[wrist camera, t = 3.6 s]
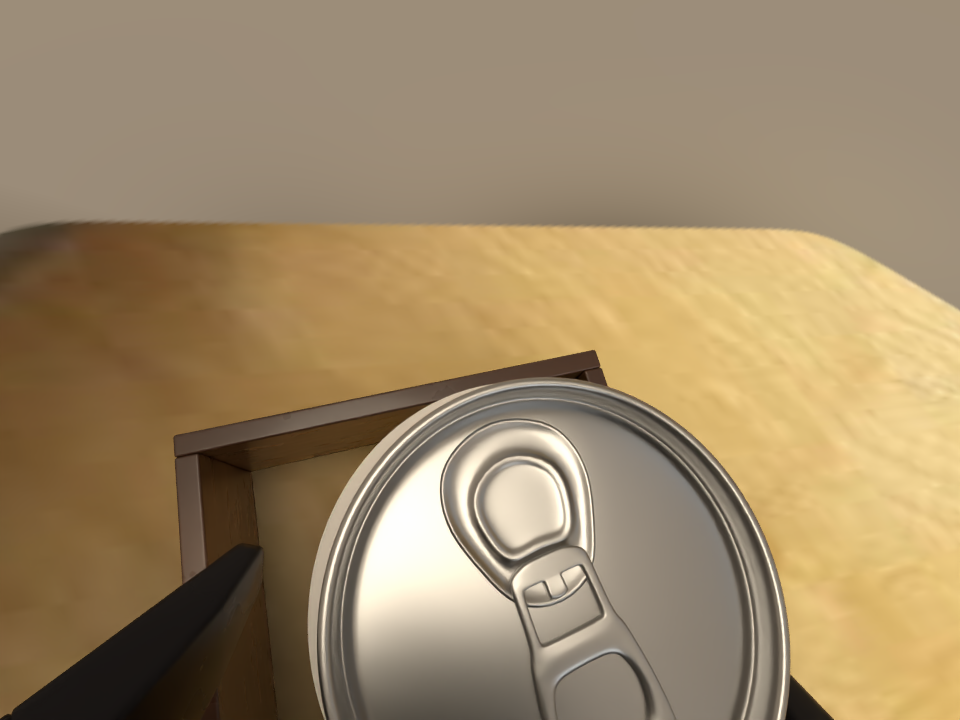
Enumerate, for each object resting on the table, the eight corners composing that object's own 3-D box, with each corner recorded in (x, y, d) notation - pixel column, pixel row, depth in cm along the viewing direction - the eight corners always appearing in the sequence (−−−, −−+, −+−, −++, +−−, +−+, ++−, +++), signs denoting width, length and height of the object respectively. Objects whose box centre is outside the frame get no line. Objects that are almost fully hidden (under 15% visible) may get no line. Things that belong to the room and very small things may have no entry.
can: (511, 436, 18) (667, 292, 7) (582, 610, 17) (932, 777, 5) (343, 500, 17) (211, 441, 6) (403, 699, 15) (383, 1183, 4)
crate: (674, 773, 16) (772, 864, 11) (278, 940, 13) (216, 1137, 9) (555, 388, 19) (595, 348, 15) (231, 458, 17) (171, 435, 13)
